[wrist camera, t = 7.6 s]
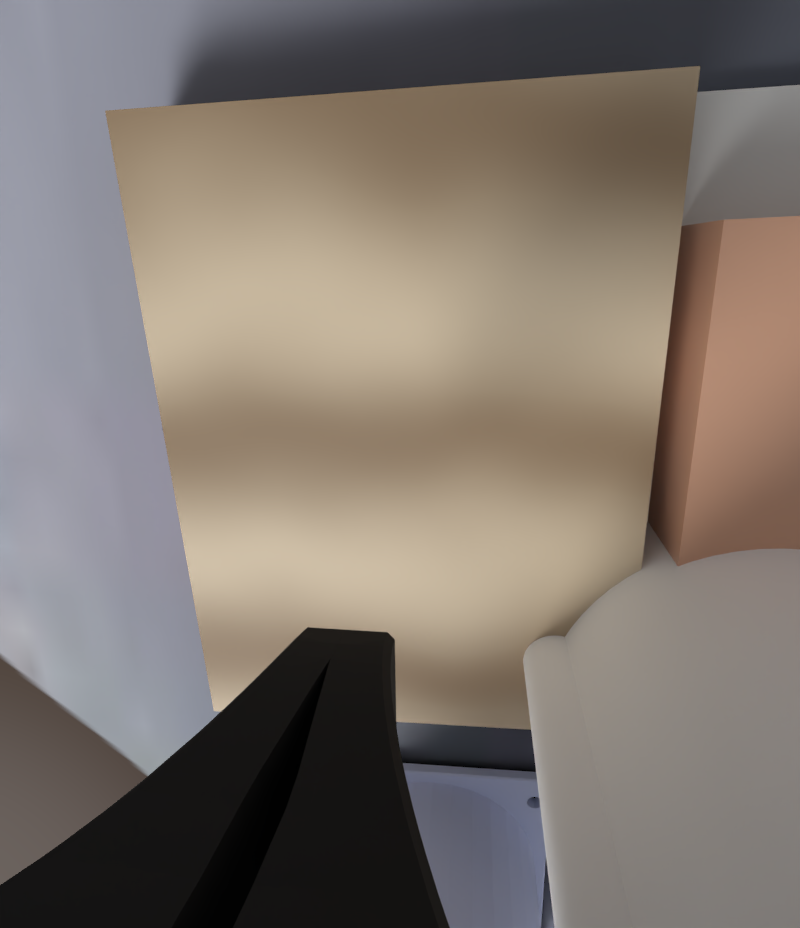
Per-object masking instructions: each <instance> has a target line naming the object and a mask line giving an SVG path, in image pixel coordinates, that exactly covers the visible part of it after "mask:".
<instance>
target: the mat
mask: <svg viewBox="0 0 800 928" xmlns="http://www.w3.org/2000/svg"><path fill="white" fill-rule="evenodd" d="M786 216H800V85H789V86H775V87H761V88H747V89H732V90H718V91H704V92H697V99H696V108H695V116H694V125H693V133H692V142H691V150H690V159H689V167H688V176H687V185H686V193H685V202H684V210H683V219H682V226H685V225H692V224H698V223H705V222H712V221H718V220H727V219H747V218H767V217H786ZM657 433H658V432H657ZM656 442H657V441H656ZM655 451H656V449H655ZM654 460H655V458H654ZM653 469H654V466H653ZM652 478H653V475H652ZM651 487H652V483H651ZM650 496H651V492H650ZM649 505H650V500H649ZM648 514H649V509H648ZM647 521H648V517H647Z"/></svg>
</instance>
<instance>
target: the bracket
mask: <svg viewBox="0 0 800 928" xmlns="http://www.w3.org/2000/svg"><path fill="white" fill-rule="evenodd" d="M523 665H524V673H525V682H526V690H527V699H528V707H529V716H530V724H531V732H532V741H533V749H534V758H535V766H536V775H537V783H538V792H539V800H540V809H541V817H542V826H543V834H544V843H545V851H546V860H547V868H548V876H549V885H550V893H551V902H552V910H553V919H554V927H555V928H800V549H785V548H784V549H756V550H746V551H737V552H731V553H726V554H720V555H715V556H711V557H707V558H703V559H699V560H696V561H692V562H689V563H686V564H683V565H681V566H677V565H676V563H675V562H674V560H673V559H672V557H671V556H670V554H669V553H668V551H667V550H666V548H665V547H664V545H663V544H662V542H661V541H660V539H659V538H658V536H657V535H656V533H655V532H654V530H653V529H652V527H651V526H650V524H649V523H648V521H647V526H646V534H645V543H644V551H643V560H642V569H641V570H640V571H638V572H636V573H634V574H632V575H631V576H629V577H627V578H626V579H624V580H623V581H621V582H620V583H618V584H617V585H615V586H614V587H612V588H611V589H610V590H608V591H607V592H606V593H605V594H603V595H602V596H601V597H600V598H599V599H597V600H596V601H595V602H594V603H593V604H592V605H591V606H590V607H589V608H588V609H587V610H586V611H585V612H584V613H583V614H582V615H581V616H580V618H579V619H578V620H577V621H576V622H575V624H574V625H573V626H572V627H571V629H570V630H569V632H568V633H567V635H566V636H565V637H563V636H546V637H542V638H540V639H537V640H536V641H534V642H533V643H532V644H530V645H529V647H528V648H527V649H526V651H525V653H524V657H523Z"/></svg>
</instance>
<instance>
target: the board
mask: <svg viewBox="0 0 800 928" xmlns="http://www.w3.org/2000/svg"><path fill="white" fill-rule="evenodd" d="M699 74H700V66H692V67H679V68H665V69H652V70H639V71H626V72H612V73H599V74H586V75H573V76H559V77H546V78H533V79H520V80H506V81H493V82H480V83H467V84H453V85H440V86H427V87H414V88H400V89H387V90H374V91H361V92H347V93H334V94H321V95H308V96H294V97H281V98H268V99H255V100H241V101H228V102H215V103H202V104H189V105H175V106H162V107H149V108H136V109H122V110H109V111H105V112H106V117H107V123H108V128H109V134H110V140H111V145H112V151H113V156H114V162H115V167H116V173H117V178H118V184H119V189H120V195H121V200H122V206H123V211H124V217H125V222H126V228H127V233H128V239H129V244H130V250H131V256H132V261H133V267H134V272H135V278H136V283H137V289H138V294H139V300H140V305H141V311H142V316H143V322H144V327H145V333H146V338H147V344H148V349H149V355H150V360H151V366H152V372H153V377H154V383H155V388H156V394H157V399H158V405H159V410H160V416H161V421H162V427H163V432H164V438H165V443H166V449H167V454H168V460H169V465H170V471H171V476H172V482H173V488H174V493H175V499H176V504H177V510H178V515H179V521H180V526H181V532H182V537H183V543H184V548H185V554H186V559H187V565H188V570H189V576H190V581H191V587H192V592H193V598H194V604H195V609H196V615H197V620H198V626H199V631H200V637H201V642H202V648H203V653H204V659H205V664H206V670H207V675H208V681H209V686H210V692H211V697H212V703H213V708H214V711H222V710H223V709H224V708H225V707H226V706H227V705H229V704H230V703H231V702H232V701H233V700H234V699H235V698H236V697H237V696H238V695H239V694H240V693H241V692H242V691H243V690H244V689H245V688H246V687H247V686H248V685H249V684H251V683H252V682H253V681H254V680H255V679H256V678H257V677H258V676H259V675H260V674H261V673H262V672H263V671H264V670H265V669H266V668H267V667H268V666H269V665H270V664H271V663H272V662H273V661H274V660H275V659H276V658H277V657H278V656H279V655H280V654H281V653H282V652H283V650H284V649H285V648H286V647H287V646H288V645H289V644H290V643H291V642H292V641H293V640H294V639H295V638H297V637H298V636H299V635H300V634H301V633H302V632H303V631H304V630H305V629H306V628H307V627H311V628H327V629H344V630H360V631H376V632H388V633H389V634H390V635H391V636H392V637H393V638H394V639H395V677H396V722H408V723H425V724H442V725H459V726H476V727H493V728H510V729H527V730H531V724H530V716H529V707H528V699H527V690H526V682H525V673H524V665H523V657H524V653H525V651H526V649H527V648H528V647H529V645H530V644H532V643H533V642H534V641H536V640H537V639H540V638H542V637H546V636H563V637H565V636H566V635H567V633H568V632H569V630H570V629H571V627H572V626H573V625H574V624H575V622H576V621H577V620H578V619H579V618H580V616H581V615H582V614H583V613H584V612H585V611H586V610H587V609H588V608H589V607H590V606H591V605H592V604H593V603H594V602H595V601H596V600H597V599H599V598H600V597H601V596H602V595H603V594H605V593H606V592H607V591H608V590H610V589H611V588H612V587H614V586H615V585H617V584H618V583H620V582H621V581H623V580H624V579H626V578H627V577H629V576H631V575H632V574H634V573H636V572H638V571H640V570H641V569H642V560H643V551H644V543H645V534H646V526H647V517H648V509H649V500H650V492H651V483H652V475H653V466H654V458H655V449H656V441H657V432H658V423H659V415H660V406H661V398H662V389H663V381H664V372H665V364H666V355H667V347H668V338H669V330H670V321H671V313H672V304H673V295H674V287H675V278H676V270H677V261H678V253H679V244H680V236H681V227H682V219H683V210H684V202H685V193H686V185H687V176H688V167H689V159H690V150H691V142H692V133H693V125H694V116H695V108H696V99H697V91H698V82H699Z"/></svg>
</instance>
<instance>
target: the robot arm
mask: <svg viewBox="0 0 800 928" xmlns="http://www.w3.org/2000/svg"><path fill="white" fill-rule="evenodd" d="M531 797H538V798H531ZM545 862H546V851H545V843H544V834H543V826H542V817H541V809H540V800H539V792H538V783H537V775H536V772H529V771H514V770H499V769H485V768H470V767H455V766H440V765H426V764H411V763H403V762H402V757H401V753H400V747H399V741H398V735H397V729H396V677H395V639H394V638H393V637H392V636H391V635H390V634H389V633H388V632H376V631H360V630H344V629H327V628H311V627H307V628H306V629H305V630H304V631H303V632H302V633H301V634H300V635H299V636H298V637H297V638H295V639H294V640H293V641H292V642H291V643H290V644H289V645H288V646H287V647H286V648H285V649H284V650H283V652H282V653H281V654H280V655H279V656H278V657H277V658H276V659H275V660H274V661H273V662H272V663H271V664H270V665H269V666H268V667H267V668H266V669H265V670H264V671H263V672H262V673H261V674H260V675H259V676H258V677H257V678H256V679H255V680H254V681H253V682H252V683H251V684H249V685H248V686H247V687H246V688H245V689H244V690H243V691H242V692H241V693H240V694H239V695H238V696H237V697H236V698H235V699H234V700H233V701H232V702H231V703H230V704H229V705H227V706H226V707H225V708H224V709H223V710H222V711H221V712H220V713H219V714H218V715H217V716H216V717H215V718H214V719H213V720H212V721H211V722H210V723H208V724H207V725H206V726H205V727H204V728H203V729H202V730H201V731H200V732H199V733H197V734H196V735H195V736H194V737H193V738H192V739H191V740H189V741H188V742H187V743H186V744H185V745H184V746H182V747H181V748H180V749H179V750H178V751H177V752H176V753H174V754H173V755H172V756H171V757H170V758H169V759H167V760H166V761H165V762H164V763H163V764H162V765H160V766H159V767H158V768H157V769H156V770H155V771H154V772H152V773H151V774H150V775H149V776H148V777H147V778H145V779H144V780H143V781H142V782H140V783H139V784H138V785H137V786H136V787H134V788H133V789H132V790H131V791H129V792H128V793H127V794H126V795H124V796H123V797H122V798H121V799H120V800H118V801H117V802H116V803H114V804H113V805H112V806H111V807H109V808H108V809H107V810H106V811H104V812H103V813H102V814H100V815H99V816H98V817H96V818H95V819H93V820H92V821H91V822H89V823H88V824H87V825H86V826H84V827H83V828H81V829H80V830H79V831H77V832H76V833H75V834H74V835H72V836H71V837H70V838H68V839H67V840H65V841H64V842H63V843H61V844H60V845H58V846H57V847H56V848H54V849H53V850H52V851H50V852H49V853H47V854H46V855H45V856H43V857H42V858H40V859H39V860H37V861H36V862H34V863H33V864H31V865H30V866H28V867H27V868H25V869H24V870H22V871H21V872H19V873H18V874H16V875H15V876H13V877H12V878H10V879H9V880H7V881H6V882H4V883H3V884H1V885H0V928H541V921H542V906H543V891H544V876H545Z"/></svg>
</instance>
